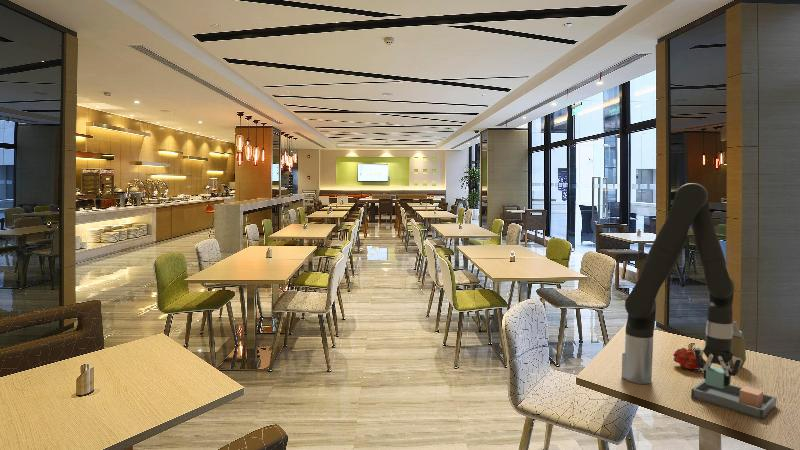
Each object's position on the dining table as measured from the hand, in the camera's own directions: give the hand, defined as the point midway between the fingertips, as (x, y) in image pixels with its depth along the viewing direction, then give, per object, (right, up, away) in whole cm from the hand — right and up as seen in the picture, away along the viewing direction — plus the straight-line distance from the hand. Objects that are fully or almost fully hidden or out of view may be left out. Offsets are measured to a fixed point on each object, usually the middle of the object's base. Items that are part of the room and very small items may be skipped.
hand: (716, 382), depth 162 cm
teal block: (0, 0, 0) cm, 0 cm away
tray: (+3, -5, -3) cm, 7 cm away
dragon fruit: (+6, -3, +25) cm, 26 cm away
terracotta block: (+6, -5, -7) cm, 11 cm away
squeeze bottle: (+25, -2, +27) cm, 37 cm away
